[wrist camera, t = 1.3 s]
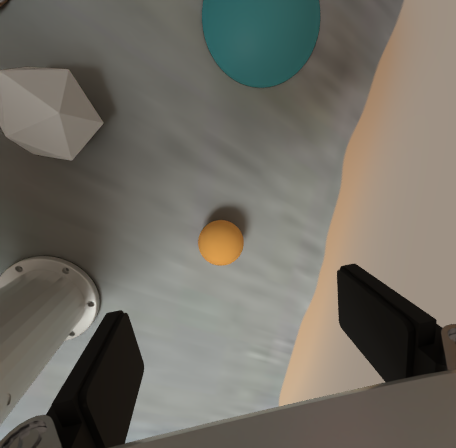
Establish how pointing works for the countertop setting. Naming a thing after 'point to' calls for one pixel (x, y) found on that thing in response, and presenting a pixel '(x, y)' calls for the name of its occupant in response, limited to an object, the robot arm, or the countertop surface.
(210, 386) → the countertop surface
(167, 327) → the countertop surface
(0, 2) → the tin
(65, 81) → the die
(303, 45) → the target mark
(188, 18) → the countertop surface
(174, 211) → the countertop surface
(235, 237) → the ball
